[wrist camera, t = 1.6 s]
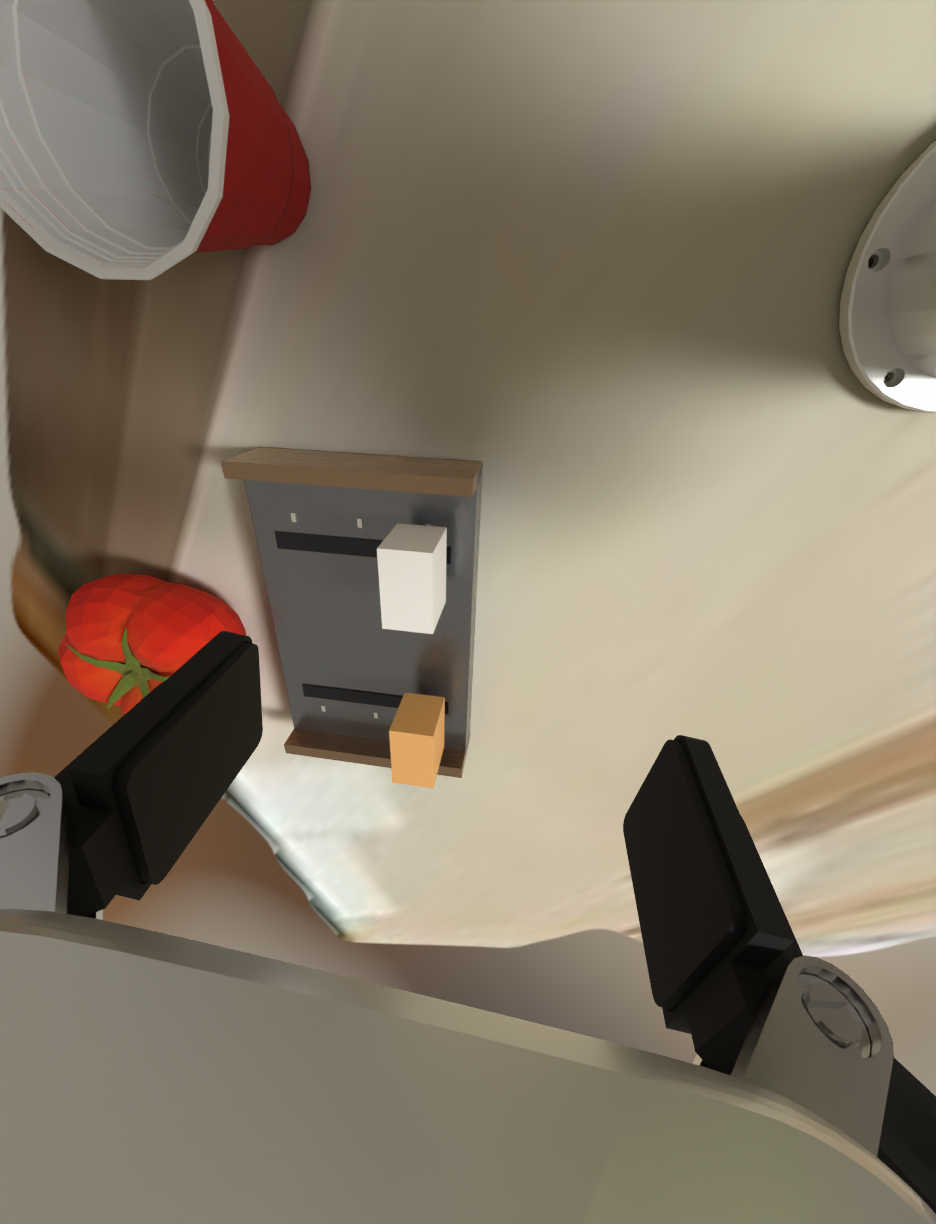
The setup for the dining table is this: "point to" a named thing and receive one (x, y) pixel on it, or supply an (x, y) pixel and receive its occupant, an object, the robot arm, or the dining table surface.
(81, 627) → the tomato
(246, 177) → the plastic cup
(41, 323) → the dining table surface
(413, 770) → the block
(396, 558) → the block
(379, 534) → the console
